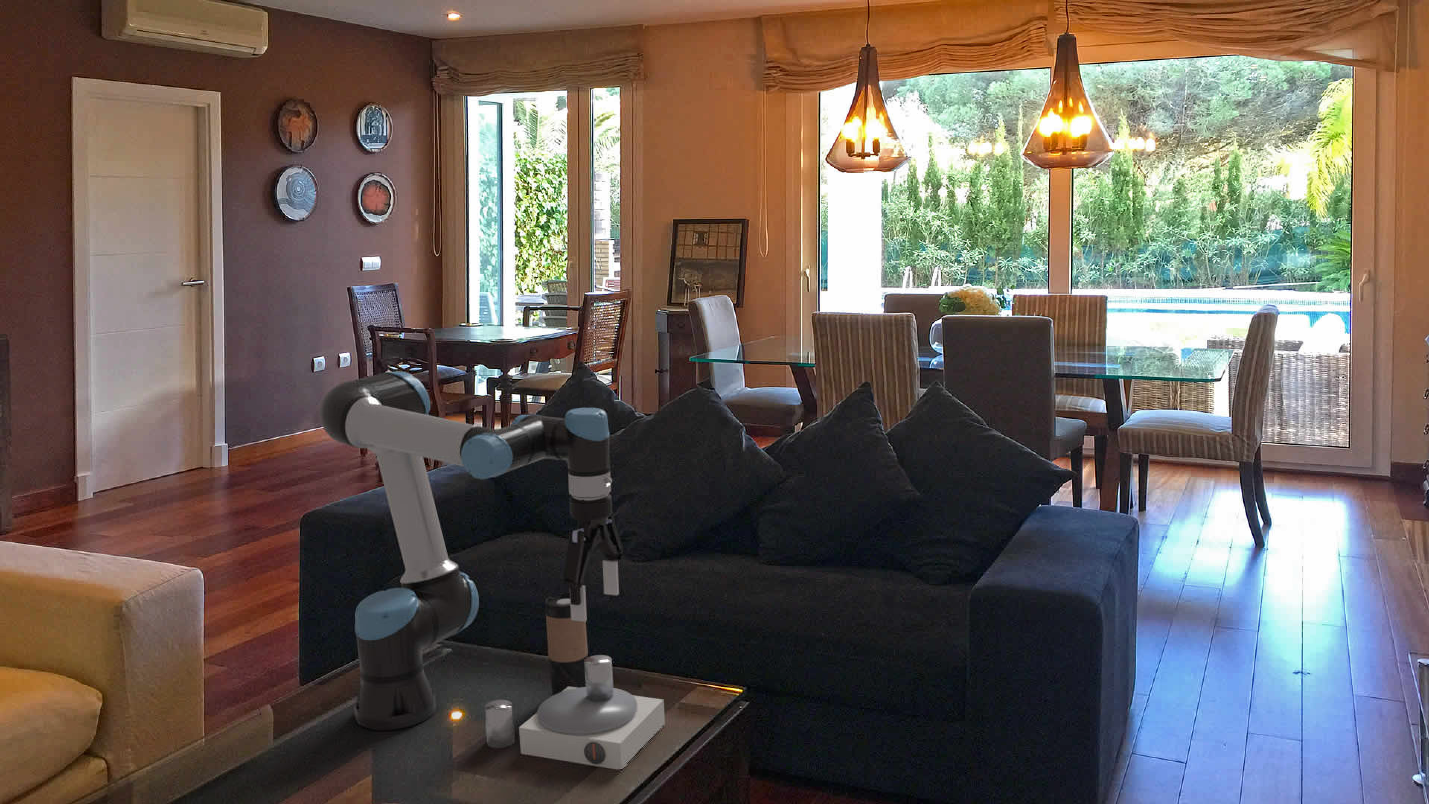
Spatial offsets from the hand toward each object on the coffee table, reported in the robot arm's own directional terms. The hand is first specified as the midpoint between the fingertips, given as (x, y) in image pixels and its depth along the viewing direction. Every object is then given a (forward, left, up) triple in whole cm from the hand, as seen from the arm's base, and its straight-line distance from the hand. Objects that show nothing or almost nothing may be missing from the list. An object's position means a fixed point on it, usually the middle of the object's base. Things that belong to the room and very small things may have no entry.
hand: (595, 607), depth 221 cm
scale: (+1, -6, -23) cm, 24 cm away
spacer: (-15, -12, -23) cm, 30 cm away
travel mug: (-12, +9, -23) cm, 28 cm away
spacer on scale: (0, -1, -17) cm, 17 cm away
